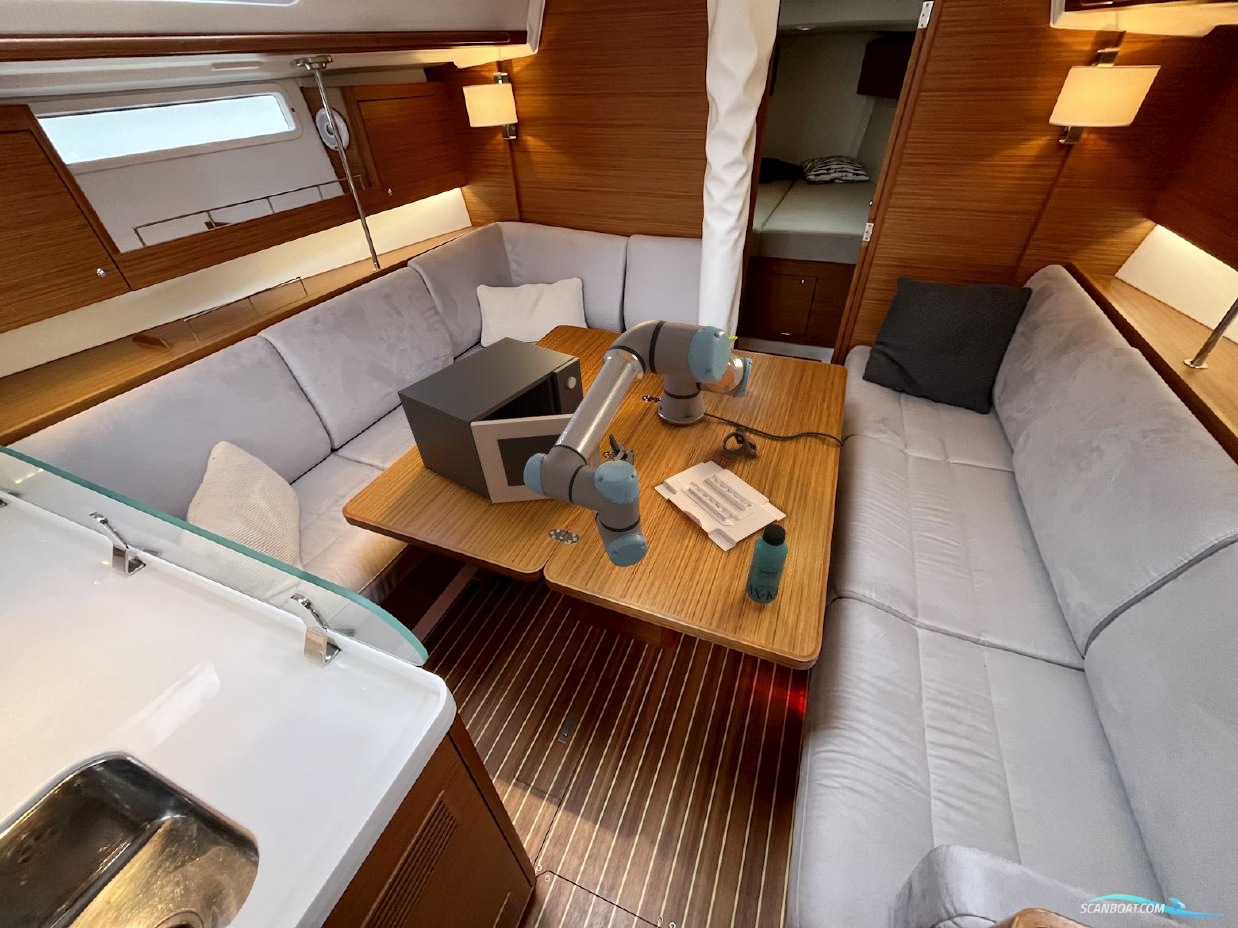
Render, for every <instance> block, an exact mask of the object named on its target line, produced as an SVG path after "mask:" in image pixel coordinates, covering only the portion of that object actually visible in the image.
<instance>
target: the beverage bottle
mask: <svg viewBox="0 0 1238 928" xmlns="http://www.w3.org/2000/svg"><path fill="white" fill-rule="evenodd" d="M786 534H787V531H786V529H785V528H784V526H782V525H780V524H778V523H769V524H767V525H765V526H764V528H763V532H762V535H761V536H759V537H757V539H756V540H755V542H754V547H753V552H752V557H751V561H750V562H749V563H750V564H749V570H748V573H747V579H746V583H745V584H746V585H745V591H746V595H747V596H748V598H749V599H750V600H751V601H752V602H753V603H757V604H759V605H769V604H772V603H773V602H774V601H775V600H776V599H777V597H778V594H779V590H780V586H781V582H782V578H783V573H784V570H785V565H786V560H787V556H788V553H789V545H788V544H787V542H786Z"/></svg>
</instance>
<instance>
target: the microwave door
mask: <svg viewBox="0 0 1238 928" xmlns="http://www.w3.org/2000/svg"><path fill="white" fill-rule="evenodd" d="M572 416H573V414H566V415H553V416H541V417H529V418H517V419H504V420H492V421H480V422H472V423H471V429H472V433H473V436H474V440H475V444H476V447H477V451H478V454H479V458H480V462H481V465H482V469H483V472H484V476H485V479H486V483H487V487H488V490H489V494H490V497H491V500H490V502H491V504H500V503H511V502H524V501H525V502H526V501H536V500H548V499H551V498H550V497H545V496H542V495H540V494H537V493H535V492H532V491H530V490H529V489H528V488H527V487H526V485H525V483H524V470H525V466H526V464H527V462H528V460H529V459H530V458H531V457H532V456H534V455H535V454H538V453H540V454H547V455H548V454H549V452H550V451H551V449H552V448H553V446H554V445H555V443H556V442H557V440H558V438H559V437H560V435H561V434H562V432H563V430H564V429H565V427H566V425H567V424H568V422H569V421H570V419H571V417H572ZM601 464H602V463H601V453H600V444H599V445H598V447H597V449H596V450H595V452H594V454H593V456H592V458H591V459H590V461H589V463H588V465H587V466H591V467H595V468H598V467H599V466H600V465H601Z"/></svg>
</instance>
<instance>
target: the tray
mask: <svg viewBox="0 0 1238 928" xmlns="http://www.w3.org/2000/svg"><path fill="white" fill-rule="evenodd" d="M654 489H655V490H656V492H658V493H659V494H660V495H661V496H662V497H663V498H664V499H666V500H670V501H671V502H672V503H673V504H675V506H677V507H678V508H679V509H680V510H681V511H682V512H683V513H684V514H686V515H687V516H688V517H689V518H690V519H691V520H693V522H695V523H696V524H697V525H698V526H699V527H701V529H702V530H704V531H705V532H706V533H707V537H708V538H709V539H710V540H711V541H713V542H714V543H715V544H716V545H717V546H718V547H720V549H722V550H723V551H724V552H727V551H728V550H730V549H732V548H734V547H735V546H736V545H737V543H738V542H739V541H741V540H743V539H745V538H747V537H748V536H750V535H751V534H753V533H755V532H757V531H759V530H761V529H762V528H765V527H766V526H767V525H769V524H772V523H773V522H774V521H777V522H778V521H781V520H782V519H783V518H786V517H787V515H786V514H785V513H784V512H782V511H781V510H780V509H778V508H777V507H776V506H774V505H773V504H771V503H770V499H769V498H768V497H767V496H765V495H764V494H762V493H761V492H760V491H758V490H757V489H755V488H754V487H753V486H752V485H750V484H748V483H747V482H745V481H744V480H743V479H741V478H740V477H739V476H737V475H736V474H735V473H733V472H732V471H731V470H729V469H728V468H725V469H724V468H723V467H721V465H718V464H717V463H716V462H714V461H713V460H709V461H707V462H705V463H704V462H703V461H702V462H700V463H697V464H696V465H693V466H691V467H689V468H687V469H685V470H683V471H681V472H679V473H676V474H674V475H672V476H670V477H668V478H666V479H664V480H663V483H661V484H659V485H656V486H654Z"/></svg>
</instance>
